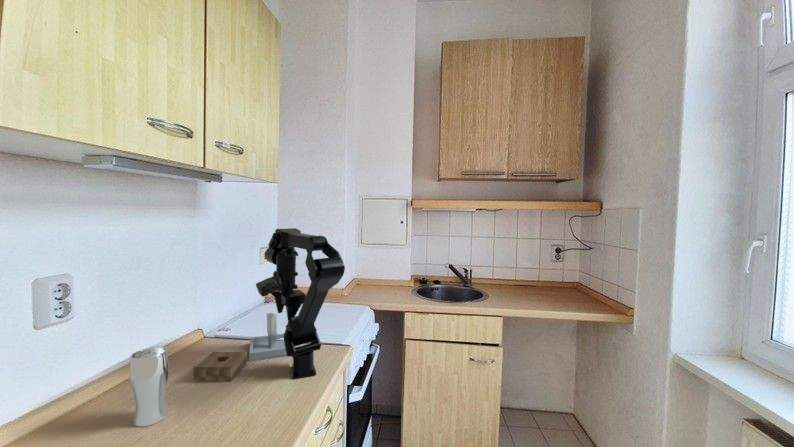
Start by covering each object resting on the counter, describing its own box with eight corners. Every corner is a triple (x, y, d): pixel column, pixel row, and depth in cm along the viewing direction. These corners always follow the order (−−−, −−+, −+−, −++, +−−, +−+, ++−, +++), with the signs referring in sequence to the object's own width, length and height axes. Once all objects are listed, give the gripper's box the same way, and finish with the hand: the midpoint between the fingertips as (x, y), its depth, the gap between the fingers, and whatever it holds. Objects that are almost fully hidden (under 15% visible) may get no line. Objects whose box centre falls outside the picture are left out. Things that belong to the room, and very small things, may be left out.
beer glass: (162, 425, 72) (161, 357, 72) (124, 431, 70) (122, 361, 70) (174, 407, 79) (172, 344, 78) (139, 411, 77) (137, 348, 76)
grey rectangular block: (276, 347, 112) (276, 315, 111) (272, 349, 111) (271, 316, 110) (271, 344, 115) (271, 312, 114) (267, 345, 114) (266, 313, 113)
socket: (246, 364, 101) (246, 351, 101) (230, 381, 91) (230, 367, 91) (213, 364, 101) (213, 351, 101) (193, 381, 91) (193, 367, 91)
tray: (296, 354, 108) (296, 347, 108) (249, 361, 103) (249, 353, 103) (293, 339, 121) (293, 332, 121) (251, 344, 116) (251, 337, 116)
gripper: (250, 264, 106) (249, 312, 107) (268, 278, 91) (267, 333, 93) (285, 262, 113) (284, 307, 114) (307, 274, 98) (305, 325, 99)
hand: (284, 317), depth 105 cm, fingers open, 9 cm apart
